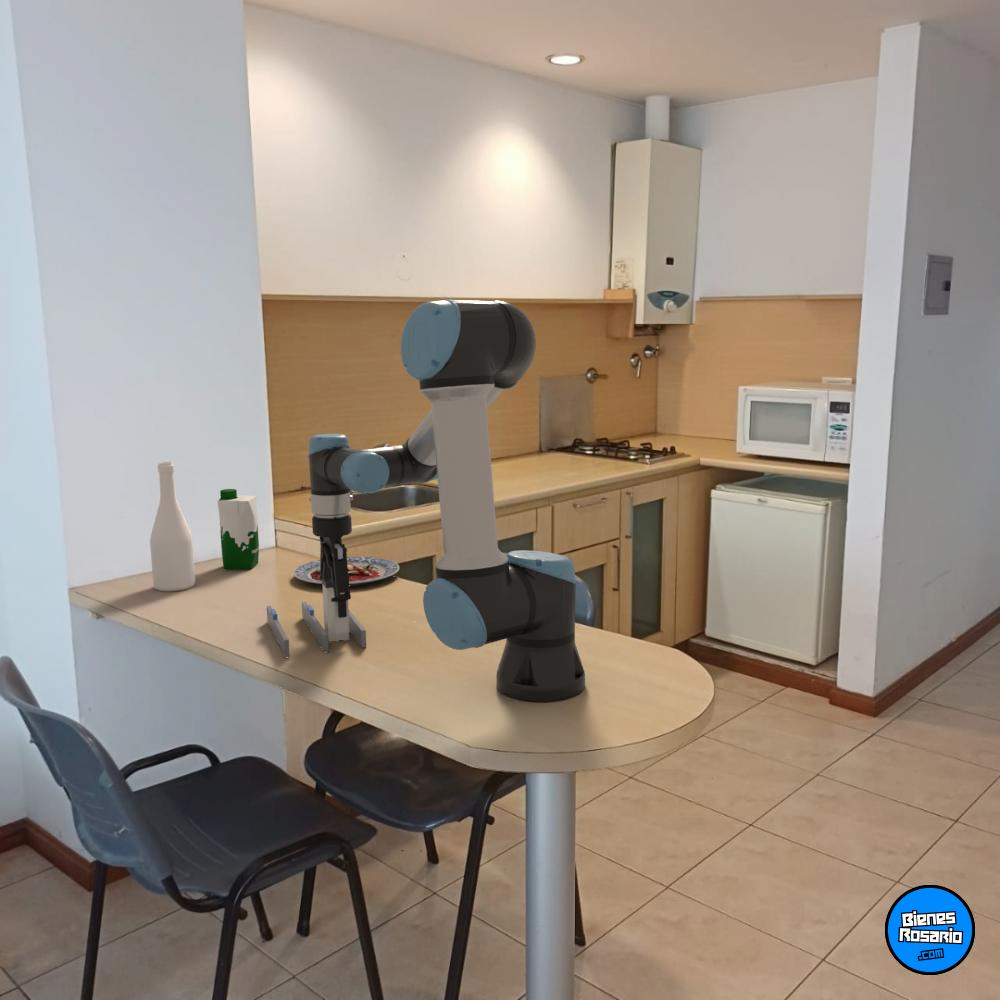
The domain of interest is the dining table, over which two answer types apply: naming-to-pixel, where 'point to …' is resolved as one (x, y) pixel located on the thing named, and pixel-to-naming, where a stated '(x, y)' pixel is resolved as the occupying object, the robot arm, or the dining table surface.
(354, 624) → the grey upright slats
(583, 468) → the dining table surface
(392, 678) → the dining table surface
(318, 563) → the ceramic plate
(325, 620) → the block
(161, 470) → the wine bottle
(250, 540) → the milk carton
